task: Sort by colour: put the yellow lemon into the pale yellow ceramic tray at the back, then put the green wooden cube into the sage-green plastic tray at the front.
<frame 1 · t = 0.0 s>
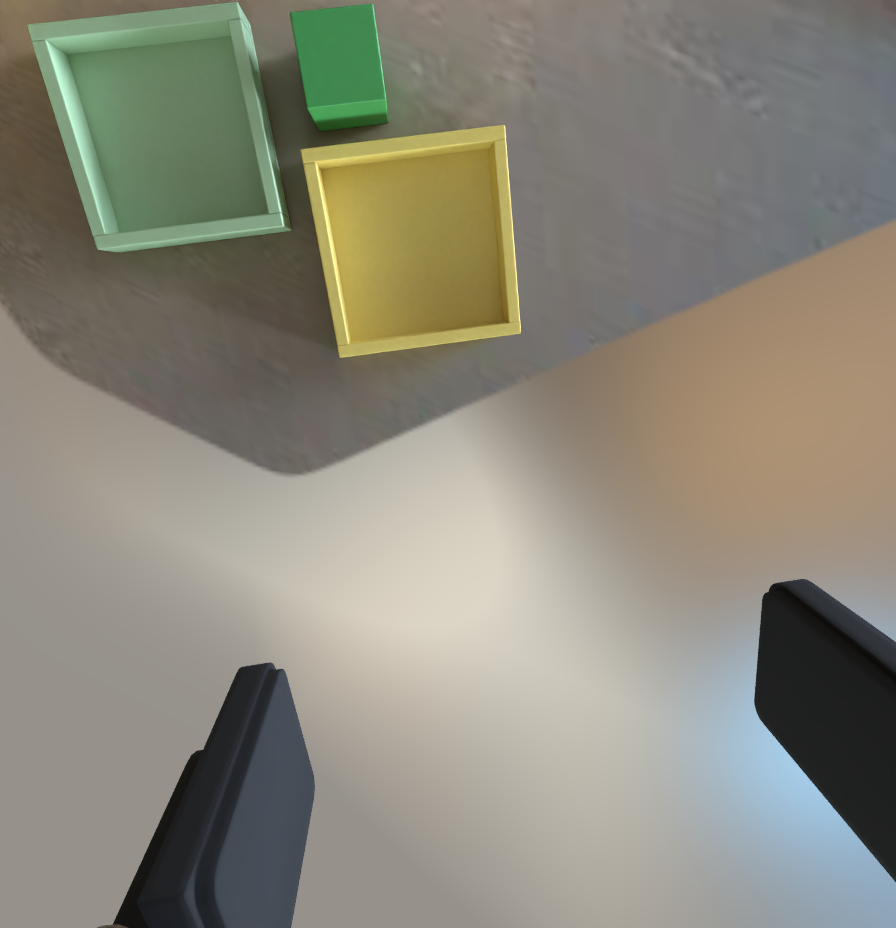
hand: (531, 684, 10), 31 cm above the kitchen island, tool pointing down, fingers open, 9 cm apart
yellow tray: (416, 250, 36), on the kitchen island
green cube: (347, 87, 33), on the kitchen island
green tray: (180, 143, 33), on the kitchen island
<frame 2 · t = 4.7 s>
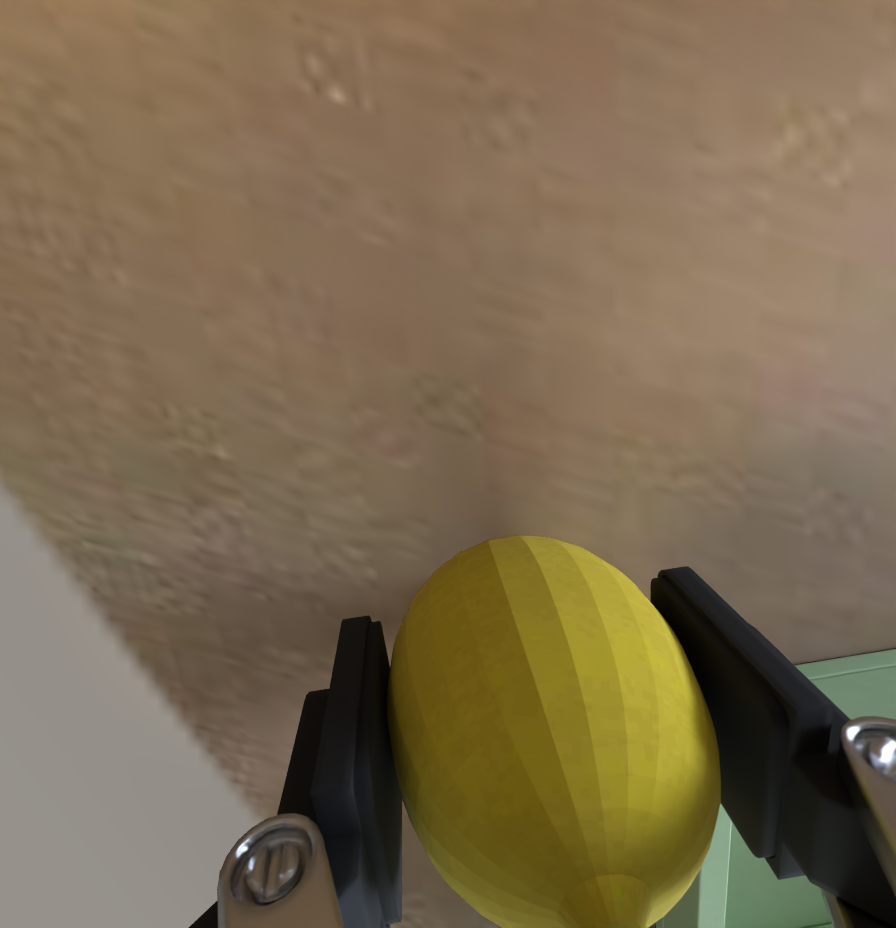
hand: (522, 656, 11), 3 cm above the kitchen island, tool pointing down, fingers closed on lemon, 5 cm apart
green tray: (827, 800, 17), on the kitchen island
lemon: (497, 578, 14), on the kitchen island, touching gripper
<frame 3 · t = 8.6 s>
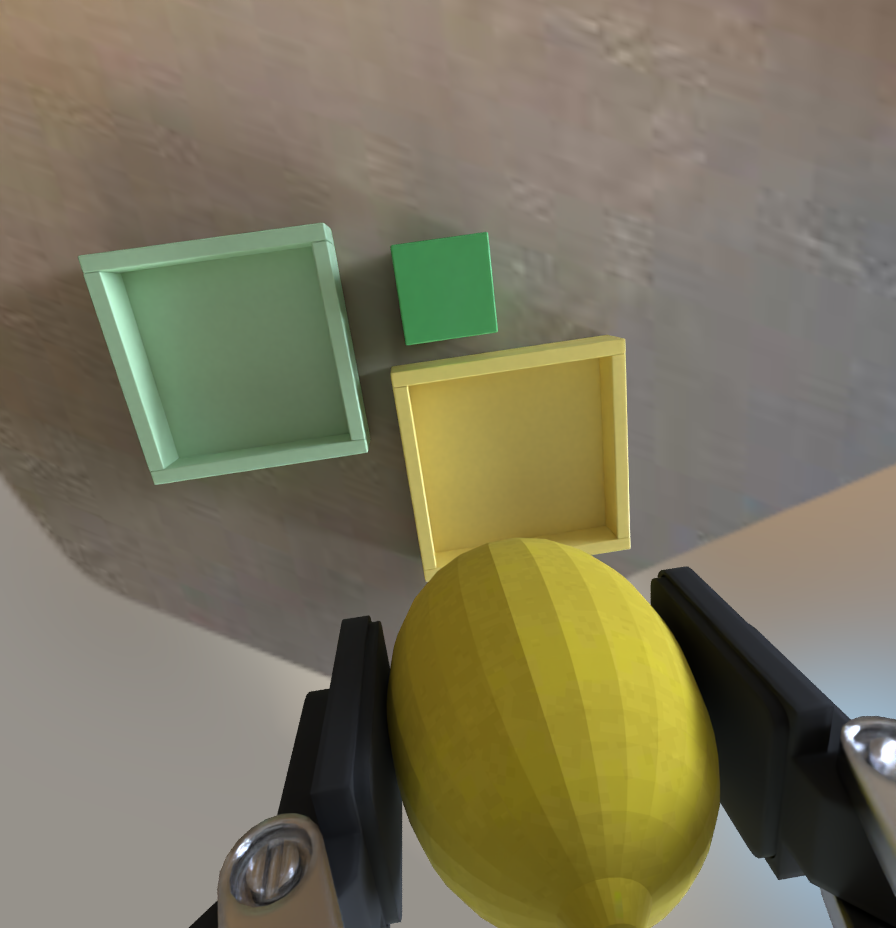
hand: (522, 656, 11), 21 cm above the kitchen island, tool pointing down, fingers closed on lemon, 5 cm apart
yellow tray: (510, 454, 32), on the kitchen island
green cube: (439, 290, 29), on the kitchen island
green tray: (247, 355, 29), on the kitchen island
lemon: (497, 580, 14), point 18 cm above the kitchen island, touching gripper
when the fingers open (4 cm above the kitchen island, at t = 12.8 s): lemon stays where it is, resting on yellow tray.
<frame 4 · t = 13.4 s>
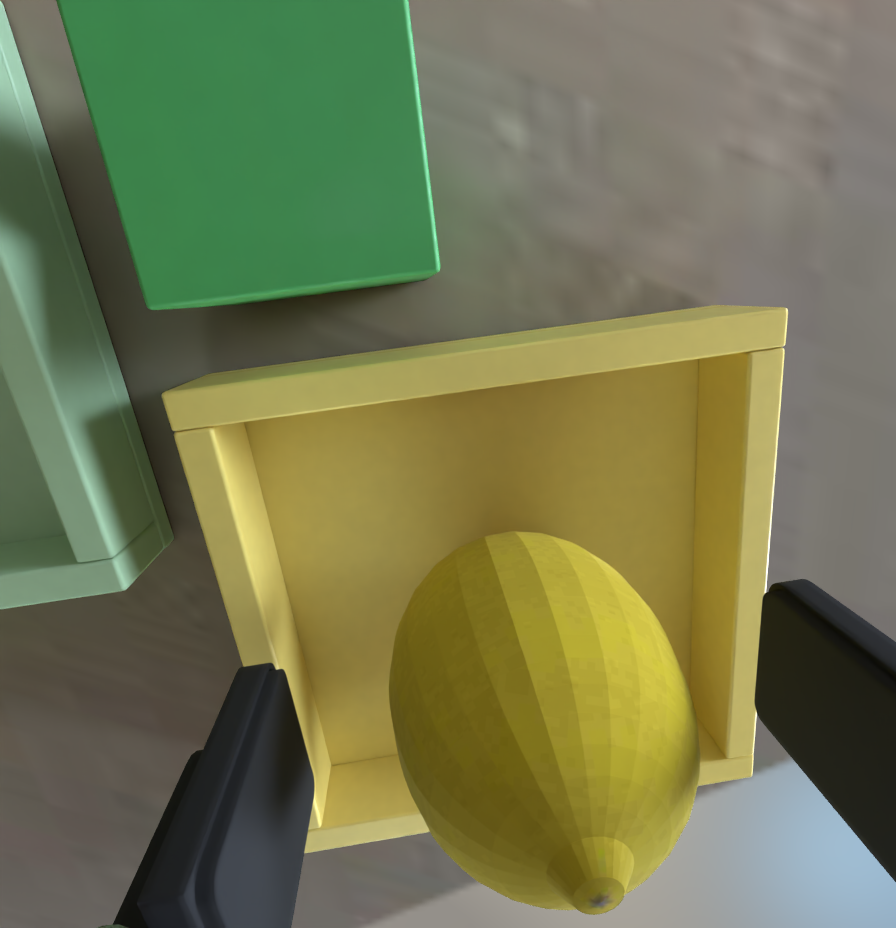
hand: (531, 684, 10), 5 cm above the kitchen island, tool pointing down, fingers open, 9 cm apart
yellow tray: (491, 565, 15), on the kitchen island
green cube: (312, 185, 12), on the kitchen island
lemon: (494, 574, 14), resting on yellow tray
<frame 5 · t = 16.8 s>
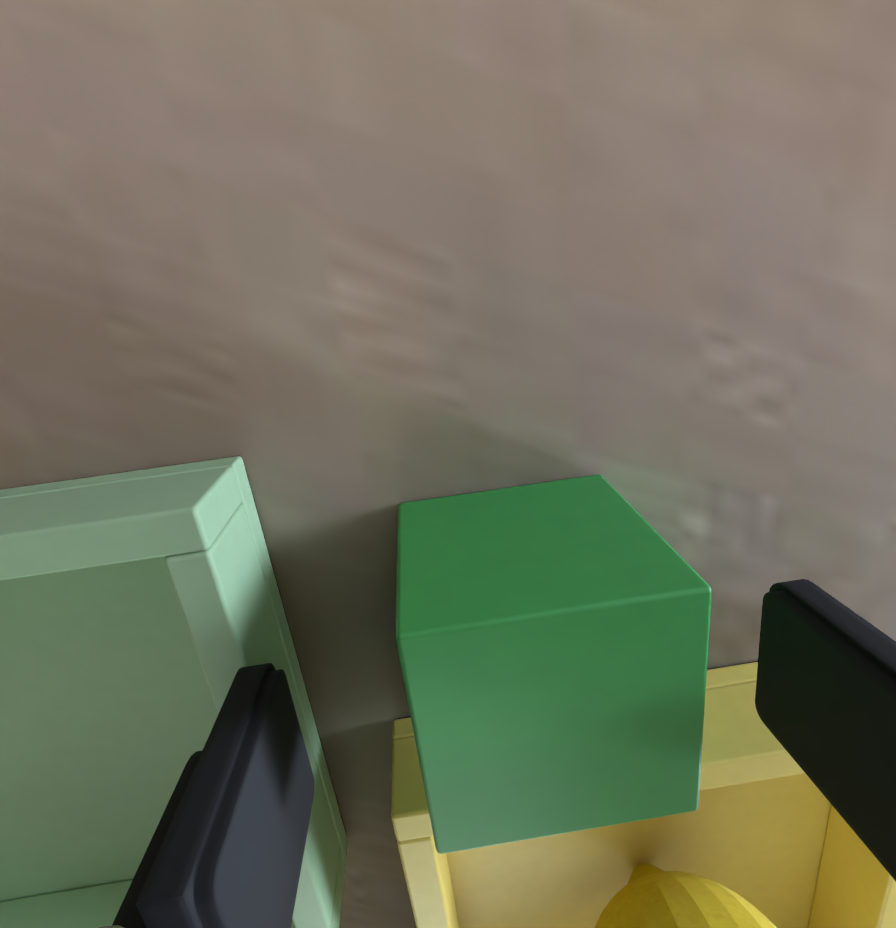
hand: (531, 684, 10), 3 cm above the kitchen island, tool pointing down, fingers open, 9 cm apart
yellow tray: (633, 844, 16), on the kitchen island
green cube: (508, 575, 12), on the kitchen island
green tray: (61, 715, 13), on the kitchen island
lemon: (639, 859, 15), resting on yellow tray
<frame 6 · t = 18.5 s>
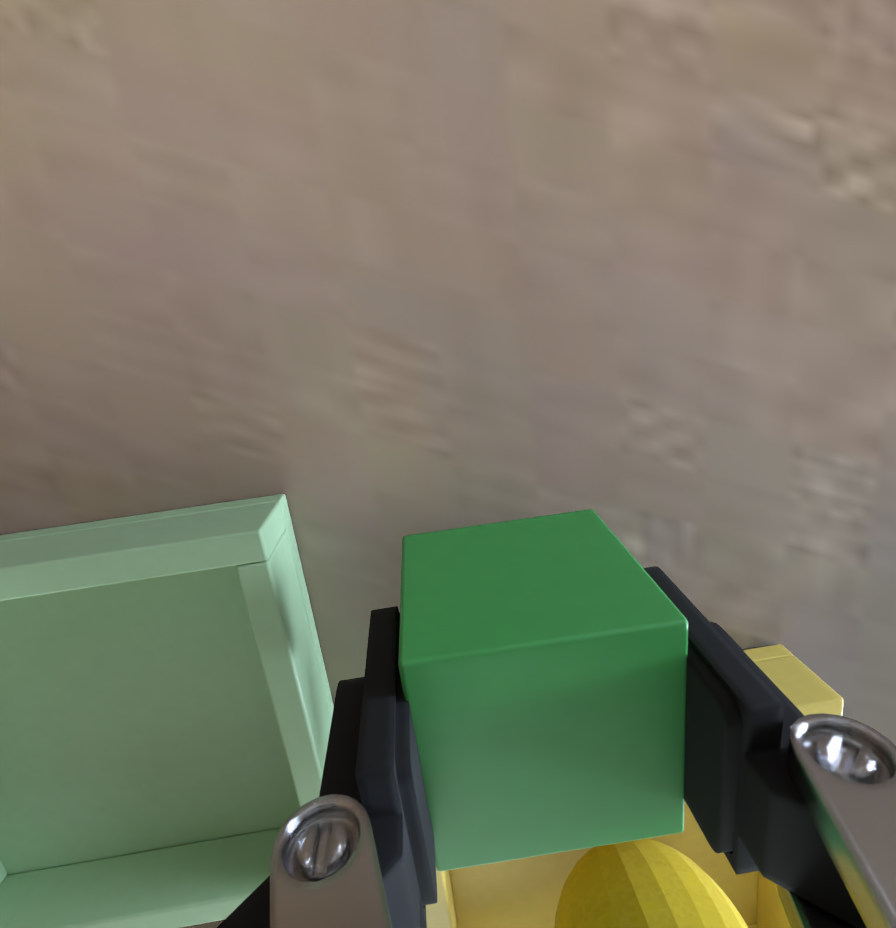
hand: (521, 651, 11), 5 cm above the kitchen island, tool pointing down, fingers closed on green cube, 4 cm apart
yellow tray: (600, 822, 19), on the kitchen island
green cube: (506, 604, 13), point 3 cm above the kitchen island, touching gripper
green tray: (133, 701, 16), on the kitchen island
lemon: (605, 834, 18), resting on yellow tray
when the fingers open (2 cm above the kitchen island, at t = 23.3 s): green cube stays where it is, resting on green tray.
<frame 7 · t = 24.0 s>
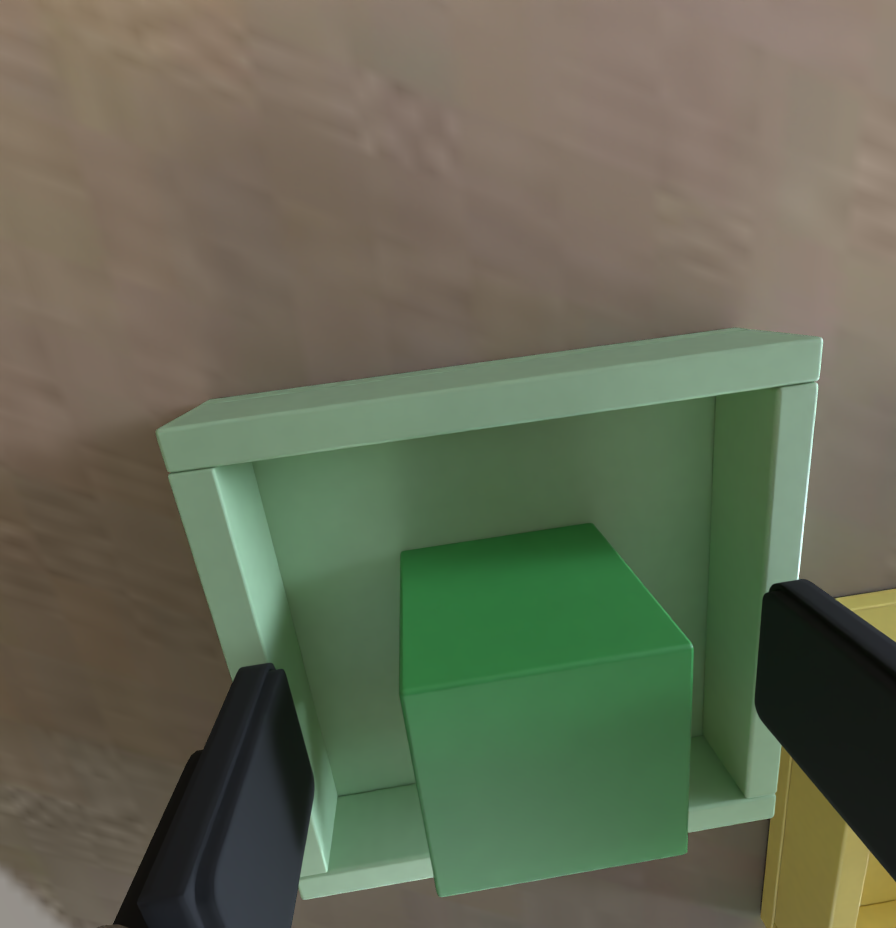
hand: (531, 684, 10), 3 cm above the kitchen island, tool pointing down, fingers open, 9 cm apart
green cube: (505, 618, 13), point 1 cm above the kitchen island, touching green tray
green tray: (501, 593, 13), on the kitchen island
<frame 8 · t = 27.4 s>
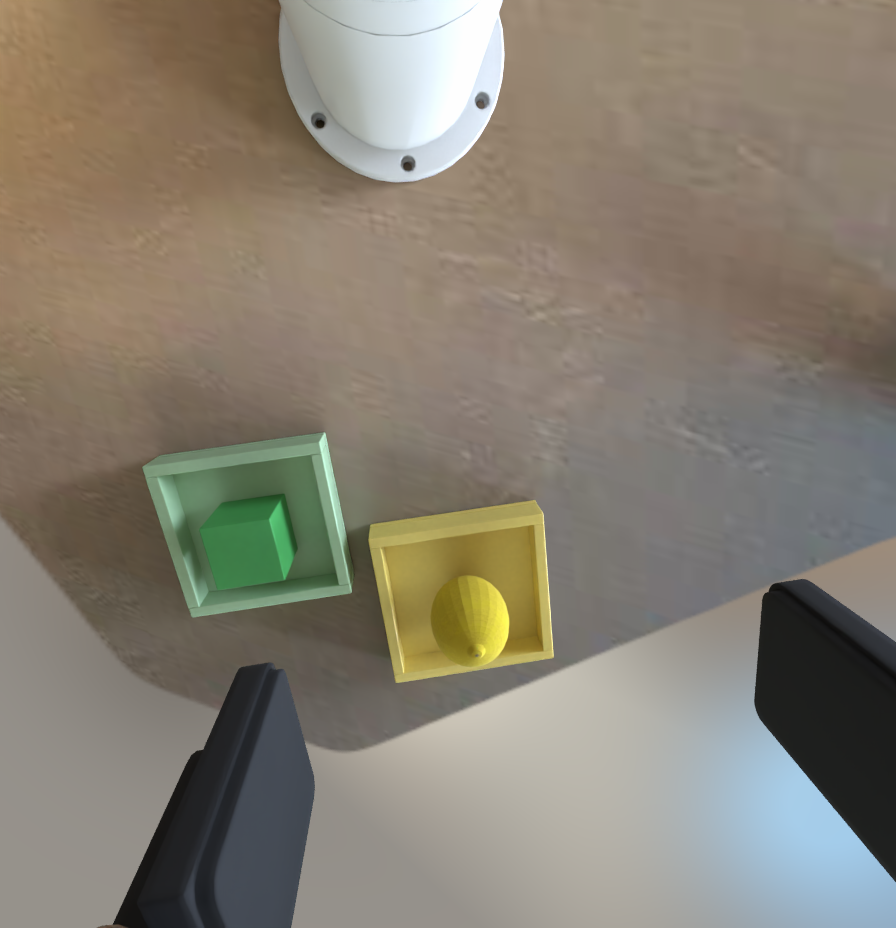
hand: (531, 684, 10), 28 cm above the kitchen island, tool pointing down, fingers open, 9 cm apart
yellow tray: (462, 583, 42), on the kitchen island
green cube: (260, 525, 38), point 1 cm above the kitchen island, touching green tray
green tray: (262, 518, 39), on the kitchen island
lemon: (463, 587, 41), resting on yellow tray
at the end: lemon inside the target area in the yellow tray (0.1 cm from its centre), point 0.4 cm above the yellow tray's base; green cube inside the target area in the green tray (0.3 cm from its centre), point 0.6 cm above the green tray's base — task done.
